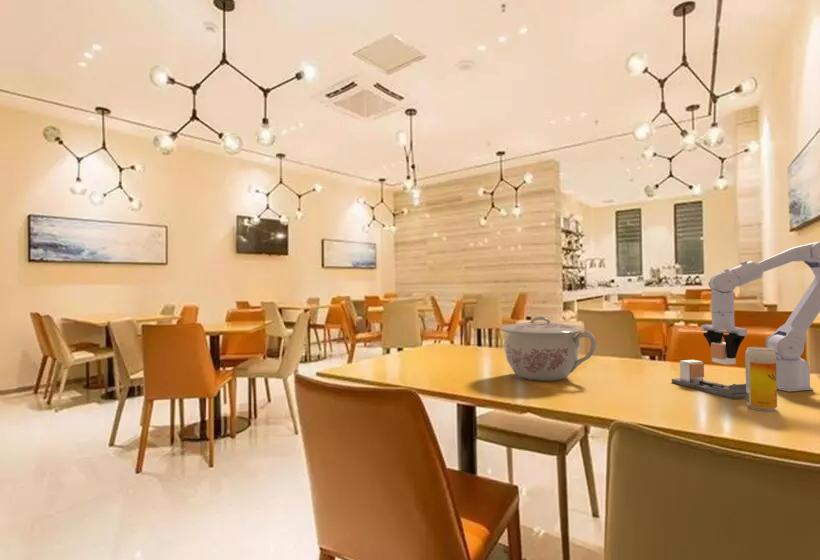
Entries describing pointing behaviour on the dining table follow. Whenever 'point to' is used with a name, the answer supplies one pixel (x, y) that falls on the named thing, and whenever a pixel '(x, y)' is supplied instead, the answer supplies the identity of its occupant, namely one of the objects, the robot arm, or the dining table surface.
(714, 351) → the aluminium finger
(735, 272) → the robot arm
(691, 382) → the rail
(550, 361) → the chamber pot
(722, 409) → the dining table surface
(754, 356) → the beer can
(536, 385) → the dining table surface
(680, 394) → the dining table surface
